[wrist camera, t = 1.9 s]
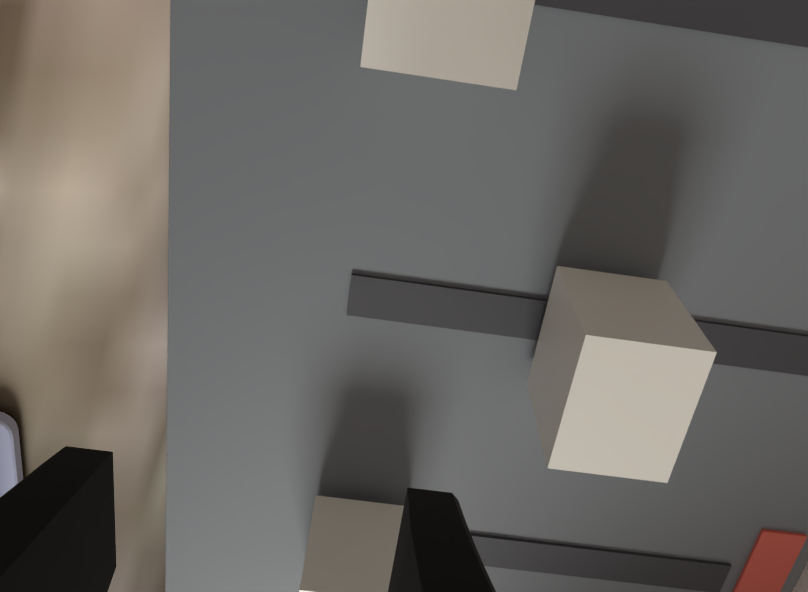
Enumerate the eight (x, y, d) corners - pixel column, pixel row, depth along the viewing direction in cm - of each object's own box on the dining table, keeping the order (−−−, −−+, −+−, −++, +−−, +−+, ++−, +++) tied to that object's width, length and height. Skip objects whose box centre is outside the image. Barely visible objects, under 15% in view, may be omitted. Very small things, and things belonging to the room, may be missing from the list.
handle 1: (304, 581, 20) (288, 683, 18) (315, 494, 19) (299, 590, 16) (394, 592, 21) (391, 694, 18) (410, 506, 19) (410, 602, 16)
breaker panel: (175, 591, 23) (164, 622, 22) (190, -346, 13) (171, -368, 12) (732, 653, 23) (746, 685, 22) (1138, -177, 14) (1194, -185, 13)
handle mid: (526, 383, 18) (547, 468, 15) (557, 265, 16) (585, 334, 14) (628, 396, 18) (667, 482, 15) (666, 281, 16) (717, 352, 14)
